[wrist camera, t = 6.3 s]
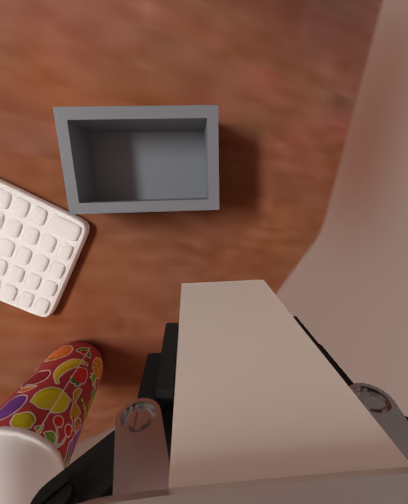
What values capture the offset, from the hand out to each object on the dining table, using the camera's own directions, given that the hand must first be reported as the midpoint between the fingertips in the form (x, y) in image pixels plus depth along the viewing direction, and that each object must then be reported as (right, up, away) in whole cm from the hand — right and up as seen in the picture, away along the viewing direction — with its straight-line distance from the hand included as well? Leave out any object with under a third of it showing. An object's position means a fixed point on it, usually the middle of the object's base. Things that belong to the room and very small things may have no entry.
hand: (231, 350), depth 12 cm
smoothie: (-18, -10, +22) cm, 30 cm away
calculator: (-26, +7, +18) cm, 32 cm away
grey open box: (-7, +14, +16) cm, 23 cm away
